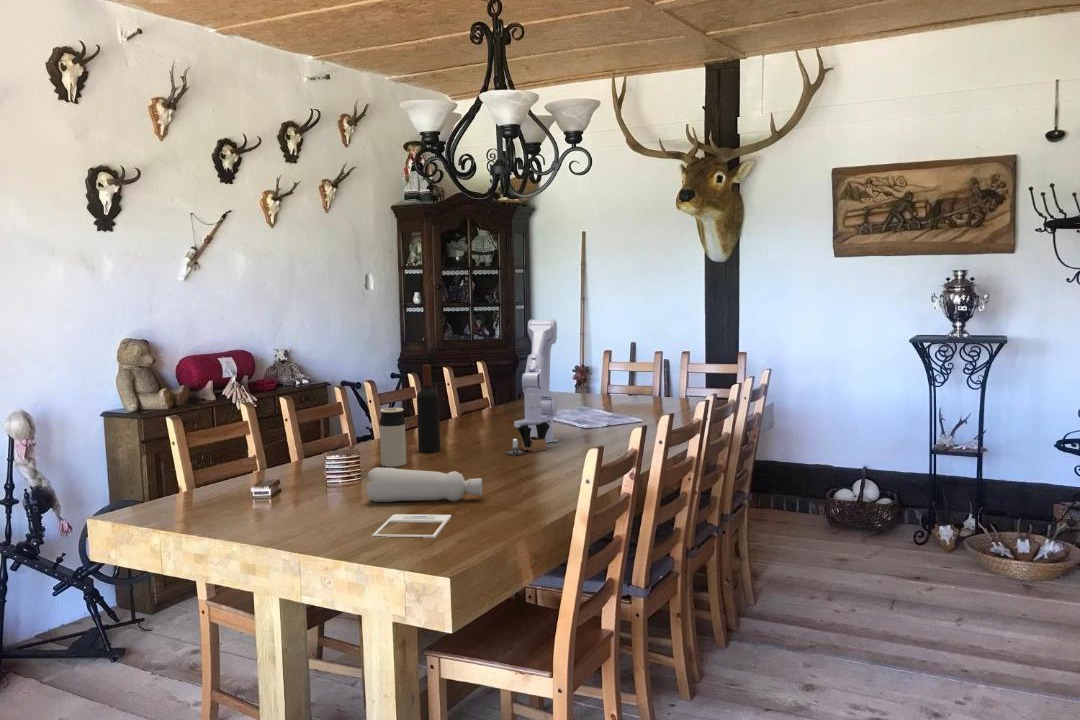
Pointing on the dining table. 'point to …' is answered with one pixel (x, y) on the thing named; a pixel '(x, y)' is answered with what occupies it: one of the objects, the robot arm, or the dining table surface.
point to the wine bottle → (428, 415)
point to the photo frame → (415, 518)
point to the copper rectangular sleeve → (535, 444)
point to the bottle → (418, 485)
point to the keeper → (515, 449)
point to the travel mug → (392, 437)
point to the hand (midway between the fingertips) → (533, 445)
